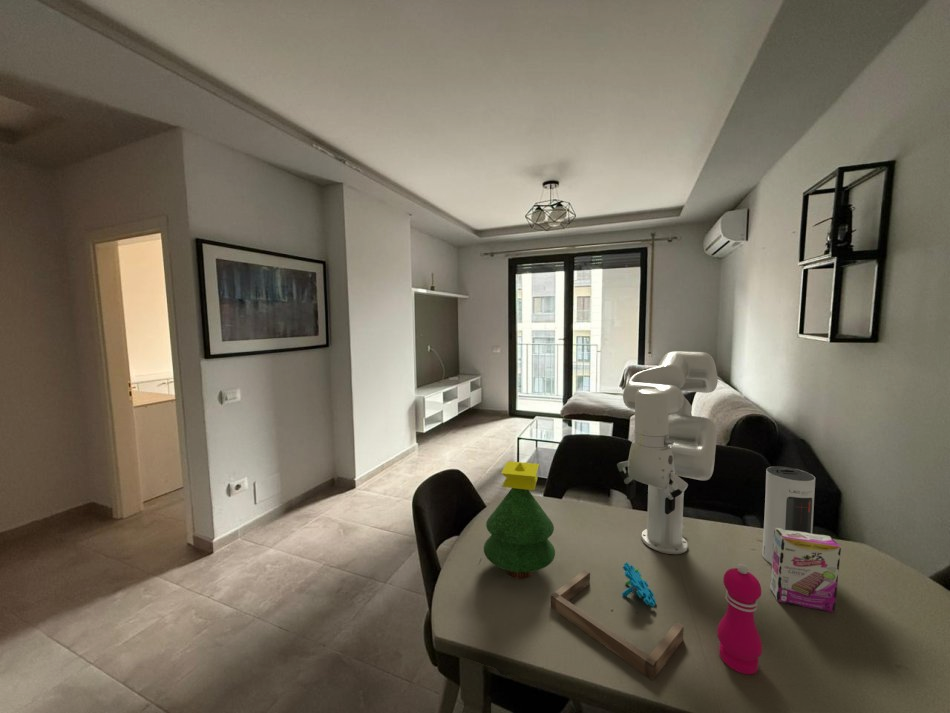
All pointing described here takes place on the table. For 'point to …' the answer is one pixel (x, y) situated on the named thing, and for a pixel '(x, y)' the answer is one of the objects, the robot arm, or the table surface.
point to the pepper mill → (740, 621)
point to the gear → (637, 585)
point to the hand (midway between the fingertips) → (649, 504)
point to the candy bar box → (805, 569)
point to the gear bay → (610, 639)
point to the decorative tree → (519, 526)
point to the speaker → (787, 504)
